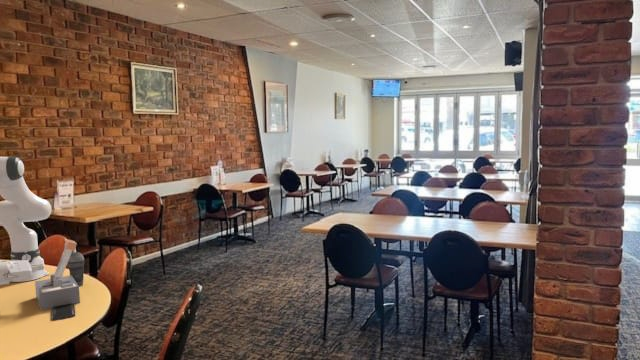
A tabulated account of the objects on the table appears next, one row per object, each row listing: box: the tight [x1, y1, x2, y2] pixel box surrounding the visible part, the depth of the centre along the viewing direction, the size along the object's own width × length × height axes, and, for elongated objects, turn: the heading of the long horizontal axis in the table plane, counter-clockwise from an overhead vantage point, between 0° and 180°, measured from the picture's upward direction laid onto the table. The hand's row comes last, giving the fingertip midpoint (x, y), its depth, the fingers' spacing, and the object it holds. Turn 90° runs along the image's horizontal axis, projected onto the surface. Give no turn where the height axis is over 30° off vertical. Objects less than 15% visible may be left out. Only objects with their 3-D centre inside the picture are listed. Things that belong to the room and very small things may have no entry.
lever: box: [52, 238, 78, 280], centre depth 199 cm, size 8×3×18 cm, turn 35°
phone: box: [51, 303, 76, 321], centre depth 184 cm, size 8×1×15 cm
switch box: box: [34, 273, 81, 311], centre depth 198 cm, size 20×14×10 cm
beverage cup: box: [67, 250, 85, 287], centre depth 217 cm, size 7×7×20 cm
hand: (43, 266), depth 194 cm, fingers closed
